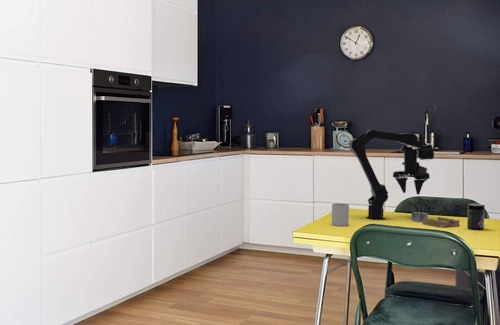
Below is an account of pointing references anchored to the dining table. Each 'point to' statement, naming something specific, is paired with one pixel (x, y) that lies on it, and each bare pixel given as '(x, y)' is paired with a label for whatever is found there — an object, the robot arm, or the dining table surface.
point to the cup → (340, 214)
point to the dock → (441, 222)
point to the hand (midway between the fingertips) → (411, 193)
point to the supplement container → (475, 216)
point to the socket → (419, 216)
